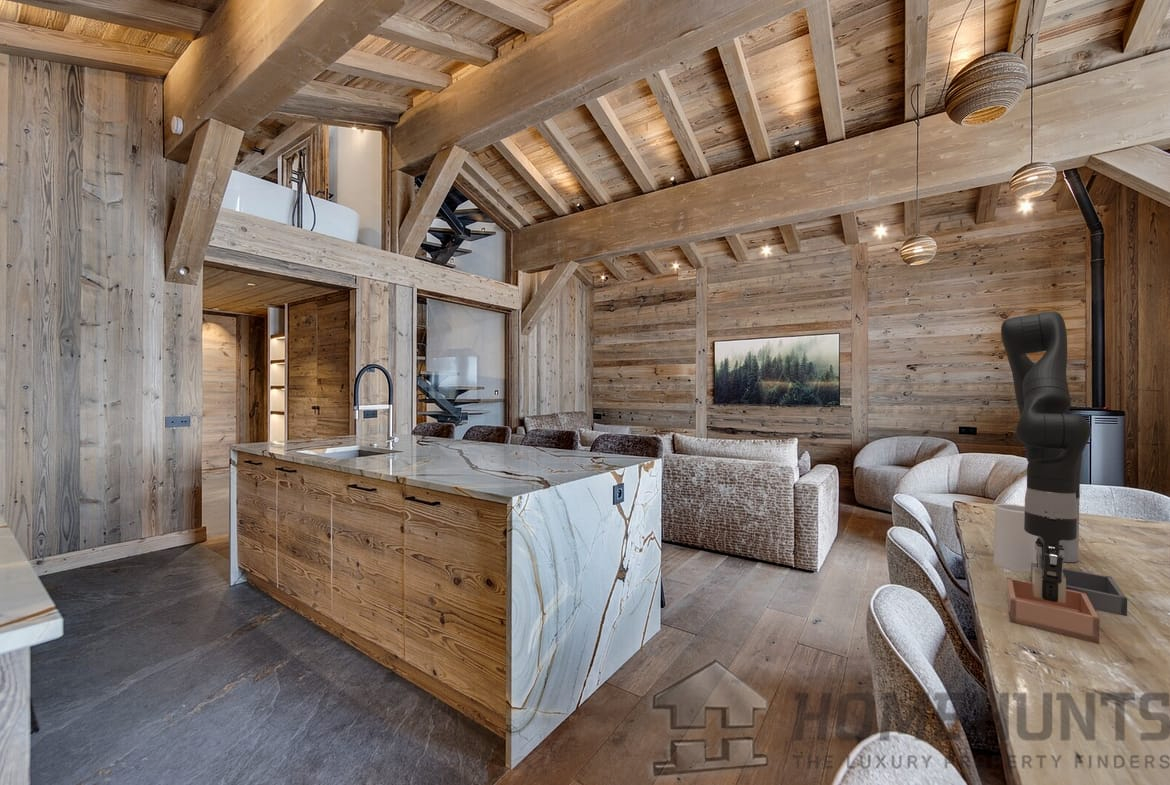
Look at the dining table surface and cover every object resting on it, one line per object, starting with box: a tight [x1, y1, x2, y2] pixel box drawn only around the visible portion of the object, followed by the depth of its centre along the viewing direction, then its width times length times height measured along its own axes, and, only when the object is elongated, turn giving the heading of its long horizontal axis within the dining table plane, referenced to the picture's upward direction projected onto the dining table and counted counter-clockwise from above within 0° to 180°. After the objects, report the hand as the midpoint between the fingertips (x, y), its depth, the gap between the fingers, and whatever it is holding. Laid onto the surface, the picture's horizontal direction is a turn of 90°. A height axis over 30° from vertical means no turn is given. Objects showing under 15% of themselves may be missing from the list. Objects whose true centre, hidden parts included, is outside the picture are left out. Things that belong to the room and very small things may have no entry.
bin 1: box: [1006, 577, 1101, 644], centre depth 94 cm, size 14×12×4 cm
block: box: [1031, 567, 1066, 603], centre depth 94 cm, size 4×4×5 cm
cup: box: [993, 503, 1038, 573], centre depth 119 cm, size 8×8×16 cm
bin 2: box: [1030, 563, 1128, 617], centre depth 103 cm, size 14×13×4 cm
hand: (1048, 595), depth 94 cm, fingers closed on block, 4 cm apart
